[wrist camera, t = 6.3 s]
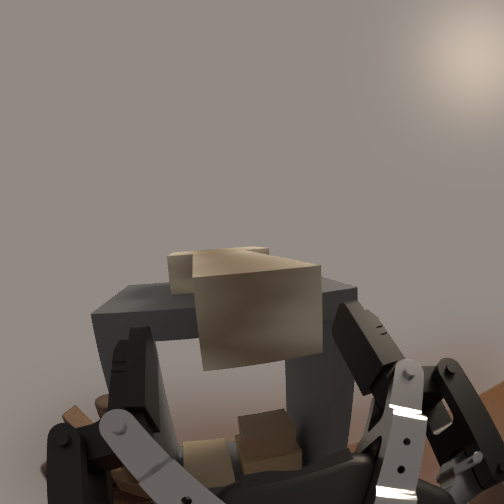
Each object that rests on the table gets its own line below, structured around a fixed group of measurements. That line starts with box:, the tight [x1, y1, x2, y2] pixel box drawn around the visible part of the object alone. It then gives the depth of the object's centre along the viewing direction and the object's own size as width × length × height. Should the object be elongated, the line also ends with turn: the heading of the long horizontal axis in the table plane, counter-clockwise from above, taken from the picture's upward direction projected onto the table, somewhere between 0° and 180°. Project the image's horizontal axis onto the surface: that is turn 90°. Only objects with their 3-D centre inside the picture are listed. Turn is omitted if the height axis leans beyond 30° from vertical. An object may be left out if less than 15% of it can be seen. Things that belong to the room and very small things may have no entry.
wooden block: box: [62, 394, 151, 499], centre depth 29 cm, size 4×11×18 cm, turn 83°
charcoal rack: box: [91, 277, 357, 504], centre depth 24 cm, size 18×12×32 cm, turn 102°
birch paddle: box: [167, 246, 323, 371], centre depth 19 cm, size 8×20×3 cm, turn 12°
